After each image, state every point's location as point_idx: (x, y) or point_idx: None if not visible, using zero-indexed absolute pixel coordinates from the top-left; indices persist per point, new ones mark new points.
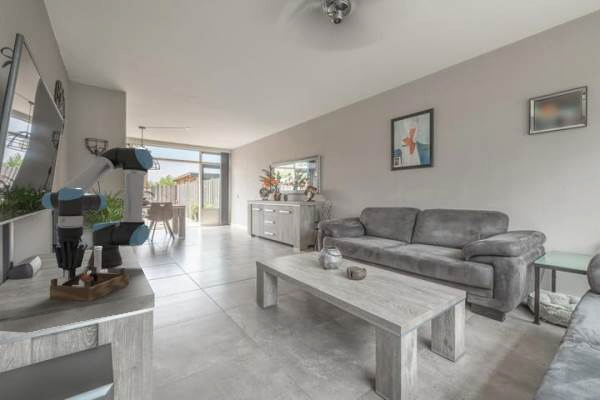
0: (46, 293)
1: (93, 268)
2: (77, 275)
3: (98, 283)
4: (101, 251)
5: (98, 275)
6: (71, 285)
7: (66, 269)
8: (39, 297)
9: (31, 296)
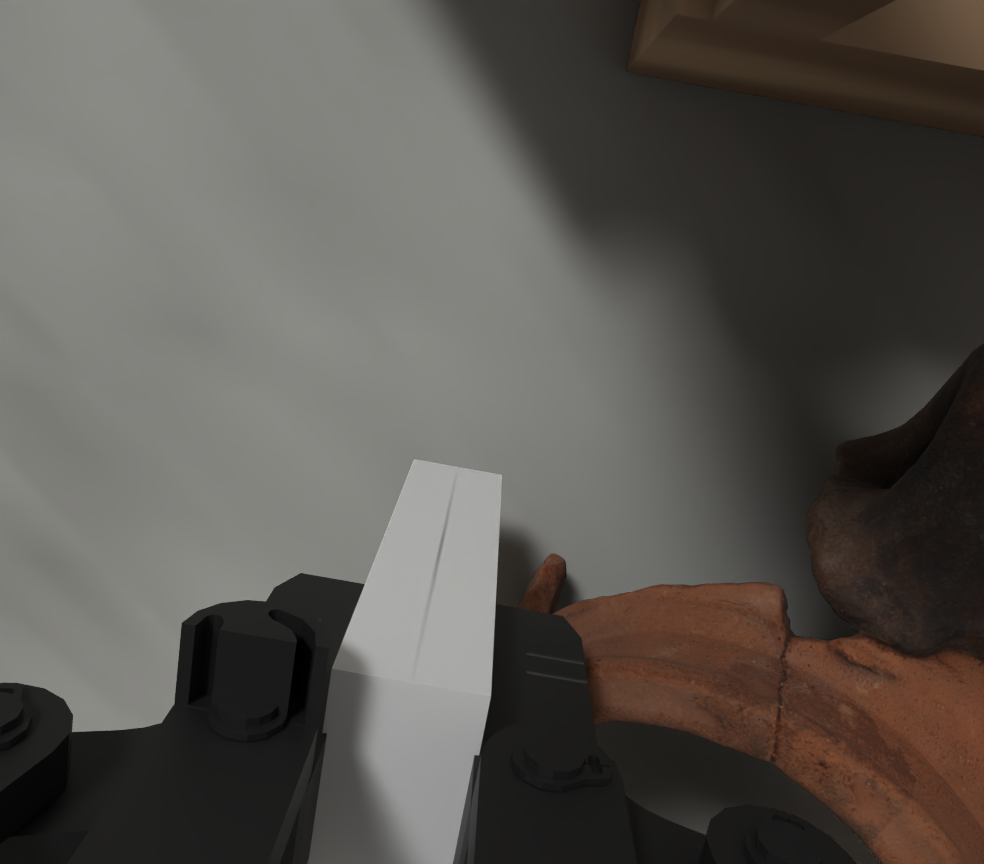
0: None
1: (863, 2)
2: (699, 732)
3: (858, 112)
4: None
5: (958, 83)
6: None
7: (306, 861)
8: None
9: None
